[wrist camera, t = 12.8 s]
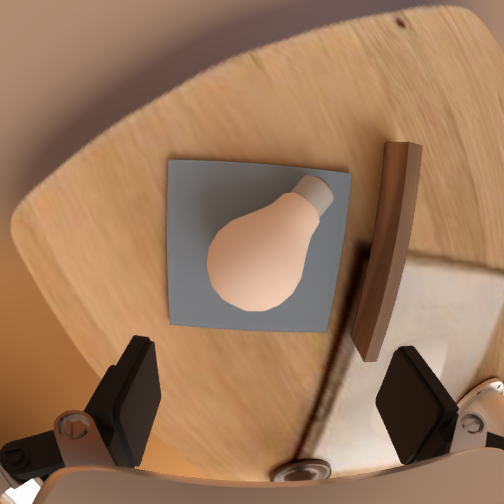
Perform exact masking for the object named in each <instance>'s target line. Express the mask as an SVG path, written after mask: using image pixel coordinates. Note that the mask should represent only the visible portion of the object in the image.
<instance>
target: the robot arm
mask: <svg viewBox="0 0 504 504" xmlns="http://www.w3.org/2000/svg"><path fill="white" fill-rule="evenodd" d="M503 390H504V384H503V382H502V381H501V380H500V379H498V378H492V379H489V380H487V381H485V382H483V383H481V384H480V385H478V386H477V387H475V388H474V389H473V390H471V391H470V392H469V393H468V394H467V395H466V396H464V397H463V398H462V399H461V400H460V401H459V403H458V404H456V403H455V402H454V400H453V399H452V397H451V396H450V395H449V393H448V392H447V390H446V389H445V388H444V386H443V385H442V383H441V382H440V381H439V379H438V378H437V377H436V375H435V374H434V373H433V372H432V370H431V369H430V367H429V366H428V364H427V363H426V362H425V361H424V359H423V358H422V357H421V355H420V354H419V353H418V351H417V350H416V349H415V347H413V346H401V347H399V348H398V349H397V350H396V351H395V352H394V354H393V357H392V359H391V362H390V365H389V367H388V370H387V372H386V375H385V377H384V380H383V383H382V385H381V387H380V390H379V392H378V394H377V397H376V407H377V409H378V411H379V413H380V415H381V418H382V420H383V422H384V425H385V427H386V429H387V431H388V434H389V436H390V438H391V441H392V443H393V445H394V448H395V450H396V452H397V455H398V457H399V460H400V462H401V463H402V464H404V466H400V467H395V468H391V469H386V470H381V471H376V472H370V473H365V474H358V475H352V476H345V477H337V478H328V479H318V480H305V481H284V482H246V481H225V480H212V479H202V478H193V477H184V476H177V475H170V474H163V473H157V472H152V471H145V470H139V469H134V467H135V466H138V467H139V466H140V464H141V460H142V457H143V454H144V451H145V447H146V444H147V441H148V438H149V435H150V431H151V428H152V425H153V422H154V419H155V416H156V413H157V410H158V407H159V404H160V400H161V389H160V383H159V376H158V368H157V360H156V352H155V344H154V342H152V341H150V339H149V337H144V336H137V335H134V336H133V337H132V339H131V341H130V342H129V344H128V346H127V347H126V349H125V351H124V353H123V354H122V356H121V358H120V359H119V361H118V363H117V365H116V366H115V365H111V366H110V367H109V368H108V370H107V372H106V373H105V375H104V377H103V378H102V380H101V382H100V383H99V385H98V387H97V389H96V390H95V392H94V394H93V396H92V397H91V399H90V401H89V403H88V404H87V406H86V408H85V410H84V411H80V410H69V411H66V412H63V413H62V414H60V415H59V416H58V417H57V418H56V419H55V421H54V425H53V428H54V430H51V431H48V432H45V433H41V434H38V435H34V436H31V437H27V438H23V439H19V440H16V441H12V442H10V443H7V444H6V445H4V446H3V447H2V449H1V450H0V504H504V396H503V395H502V394H503Z"/></svg>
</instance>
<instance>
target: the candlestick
mask: <svg viewBox="0 0 504 504" xmlns="http://www.w3.org/2000/svg"><path fill="white" fill-rule="evenodd" d="M330 475H331V468H330V465H329V464H328V463H327V462H326V461H323V460H319V459H303V460H297V461H292V462H289V463H286V464H283V465H281V466H279V467H277V468H276V469H275V470H273V472H272V473H271V475H270V478H271V482H284V481H305V480H318V479H328V478H329V477H330Z"/></svg>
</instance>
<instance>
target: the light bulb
mask: <svg viewBox="0 0 504 504" xmlns="http://www.w3.org/2000/svg"><path fill="white" fill-rule="evenodd" d="M333 200H334V197H333V193H332V191H331V189H330V186H329V185H328V183H327V182H326V181H324V180H323V179H321V178H319V177H315V176H311V175H306V176H304V177H303V178H302V179H301V180H300V181H299V182H298V184H297V185H296V186H295V187H294V188H293V189H292V190H291V193H285V194H283V195H282V196H280V197H279V198H278V199H277V200H276V201H275V202H273V203H272V204H271V205H268V206H266V207H264V208H262V209H259V210H257V211H255V212H252V213H250V214H247V215H244V216H242V217H239V218H237V219H234V220H232V221H231V222H229V223H228V224H227V225H226V226H224V227H223V228H222V229H220V230H219V231H218V232H217V234H216V236H215V238H214V239H213V241H212V243H211V244H210V246H209V250H208V257H207V270H208V273H209V277H210V281H211V285H212V287H213V288H214V289H215V291H216V292H217V293H218V294H219V295H220V297H221V298H222V299H223V300H224V301H226V302H228V303H230V304H232V305H234V306H236V307H238V308H240V309H242V310H245V311H266V310H268V309H271V308H273V307H276V306H278V305H280V304H281V303H282V302H283V301H284V300H286V299H287V298H288V297H289V296H290V295H292V293H293V292H294V290H295V288H296V287H297V285H298V283H299V281H300V280H301V277H302V272H303V268H304V263H305V258H306V253H307V250H308V246H309V242H310V239H311V236H312V234H313V233H314V231H315V229H316V228H317V226H318V225H319V223H320V222H319V217H320V216H321V215H322V214H323V213H324V212H325V210H326V209H327V208H328V207H329V205H330V204H331V203H332V202H333Z"/></svg>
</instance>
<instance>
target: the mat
mask: <svg viewBox="0 0 504 504" xmlns="http://www.w3.org/2000/svg"><path fill="white" fill-rule="evenodd" d="M306 175H311V176H315V177H319V178H321V179H323V180H324V181H326V182H327V183H328V185H329V186H330V189H331V191H332V193H333V197H334V200H333V202H332V203H331V204H330V205H329V207H328V208H327V209H326V210H325V212H324V213H323V214H322V215H321V216H320V217H319V222H320V223H319V225H318V226H317V228H316V229H315V231H314V233H313V234H312V236H311V239H310V242H309V246H308V250H307V253H306V258H305V263H304V268H303V272H302V277H301V280H300V281H299V283H298V285H297V287H296V288H295V290H294V292H293V293H292V295H290V296H289V297H288V298H287V299H286V300H284V301H283V302H282V303H281V304H280V305H278V306H276V307H273V308H271V309H268V310H266V311H245V310H242V309H240V308H238V307H236V306H234V305H232V304H230V303H228V302H226V301H224V300H223V299H222V298H221V297H220V295H219V294H218V293H217V292H216V291H215V289H214V288H213V287H212V285H211V281H210V277H209V273H208V270H207V257H208V250H209V246H210V244H211V243H212V241H213V239H214V238H215V236H216V234H217V232H218V231H219V230H220V229H222V228H223V227H224V226H226V225H227V224H228V223H229V222H231V221H232V220H234V219H237V218H239V217H242V216H244V215H247V214H250V213H252V212H255V211H257V210H259V209H262V208H264V207H266V206H268V205H271V204H272V203H273V202H275V201H276V200H277V199H278V198H279V197H280V196H282V195H283V194H285V193H291V190H292V189H293V188H294V187H295V186H296V185H297V184H298V182H299V181H300V180H301V179H302V178H303V177H304V176H306ZM351 181H352V174H350V173H344V172H336V171H329V170H320V169H312V168H303V167H294V166H283V165H272V164H260V163H246V162H230V161H209V160H169V164H168V190H167V272H168V299H169V318H170V325H181V326H192V327H204V328H217V329H232V330H250V331H274V332H326V331H327V327H328V322H329V317H330V313H331V308H332V303H333V298H334V293H335V287H336V282H337V277H338V271H339V265H340V260H341V254H342V247H343V241H344V235H345V228H346V221H347V213H348V206H349V198H350V190H351Z"/></svg>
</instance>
